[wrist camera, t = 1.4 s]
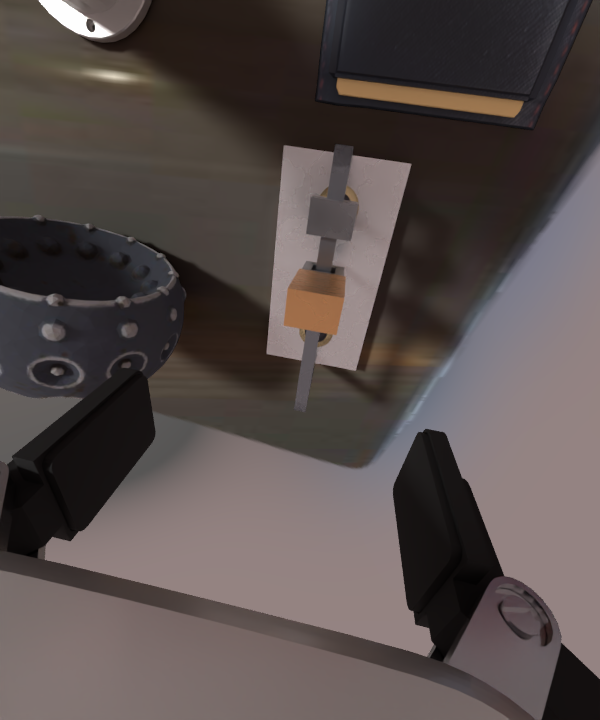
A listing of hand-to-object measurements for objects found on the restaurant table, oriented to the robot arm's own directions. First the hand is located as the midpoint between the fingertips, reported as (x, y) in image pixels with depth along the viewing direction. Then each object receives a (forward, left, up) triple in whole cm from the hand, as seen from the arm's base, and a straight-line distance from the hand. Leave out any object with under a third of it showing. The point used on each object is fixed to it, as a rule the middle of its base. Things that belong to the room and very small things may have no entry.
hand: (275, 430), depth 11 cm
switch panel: (+2, 0, -28) cm, 28 cm away
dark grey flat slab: (-21, +6, -29) cm, 36 cm away
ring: (+6, -24, -29) cm, 38 cm away
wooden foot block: (0, 0, -26) cm, 26 cm away
